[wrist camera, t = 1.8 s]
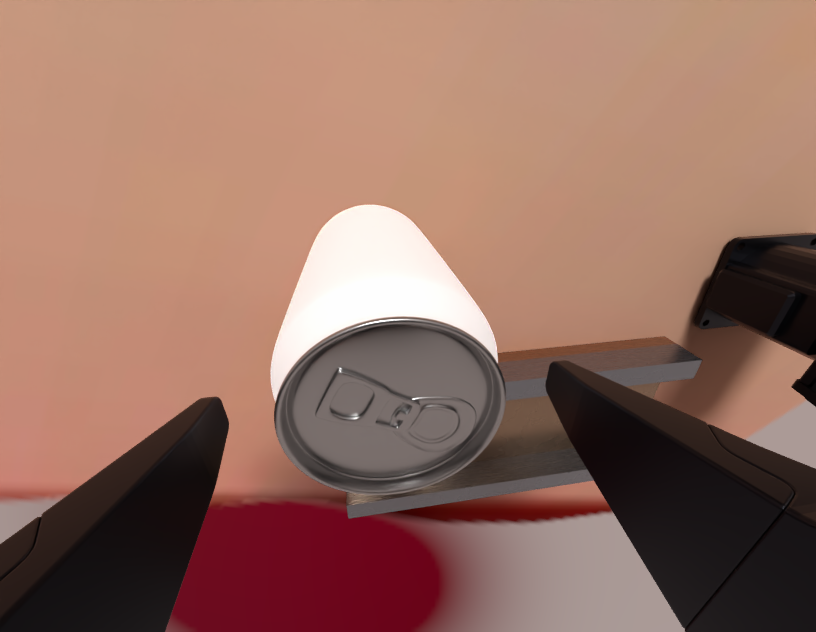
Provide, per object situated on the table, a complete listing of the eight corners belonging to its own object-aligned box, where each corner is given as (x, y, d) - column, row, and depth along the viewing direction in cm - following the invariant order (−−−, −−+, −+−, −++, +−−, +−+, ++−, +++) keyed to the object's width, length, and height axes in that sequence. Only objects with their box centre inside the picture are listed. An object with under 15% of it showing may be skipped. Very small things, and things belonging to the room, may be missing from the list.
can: (396, 329, 21) (441, 521, 10) (293, 289, 19) (217, 480, 8) (448, 236, 19) (575, 360, 8) (339, 178, 16) (317, 244, 6)
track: (664, 336, 24) (702, 359, 22) (622, 442, 30) (648, 471, 27) (331, 370, 21) (329, 402, 19) (349, 481, 27) (348, 518, 24)
